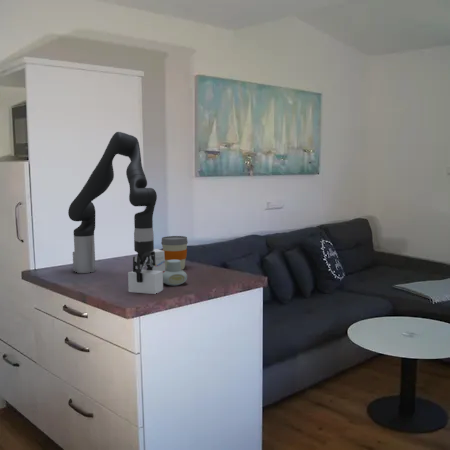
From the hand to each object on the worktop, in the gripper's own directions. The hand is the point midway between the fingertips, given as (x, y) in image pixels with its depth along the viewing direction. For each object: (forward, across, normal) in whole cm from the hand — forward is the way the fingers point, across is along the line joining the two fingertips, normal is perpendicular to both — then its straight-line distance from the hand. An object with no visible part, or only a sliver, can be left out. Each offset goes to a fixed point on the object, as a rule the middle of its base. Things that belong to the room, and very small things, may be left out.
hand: (144, 279), depth 200 cm
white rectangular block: (+4, 0, 0) cm, 5 cm away
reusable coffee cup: (+5, -44, -7) cm, 45 cm away
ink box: (+5, -26, -8) cm, 28 cm away
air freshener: (+5, -14, +6) cm, 16 cm away
